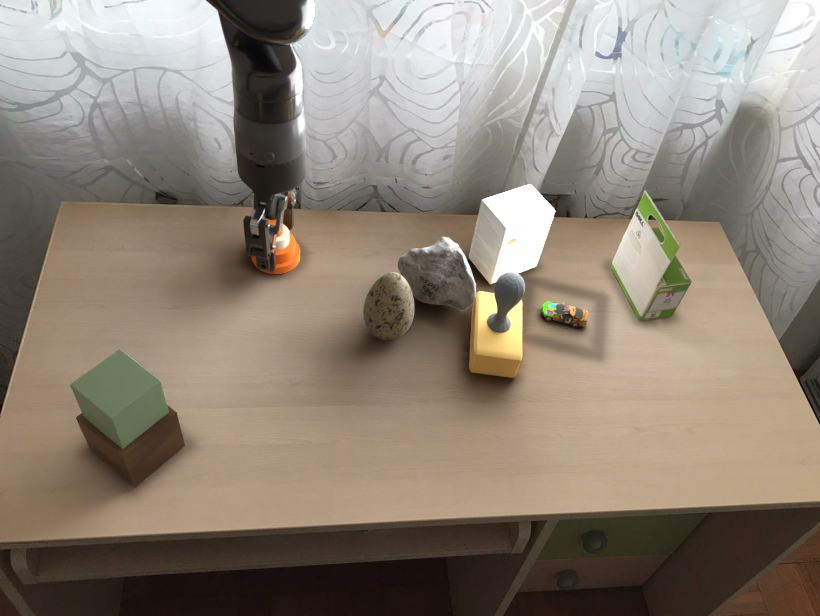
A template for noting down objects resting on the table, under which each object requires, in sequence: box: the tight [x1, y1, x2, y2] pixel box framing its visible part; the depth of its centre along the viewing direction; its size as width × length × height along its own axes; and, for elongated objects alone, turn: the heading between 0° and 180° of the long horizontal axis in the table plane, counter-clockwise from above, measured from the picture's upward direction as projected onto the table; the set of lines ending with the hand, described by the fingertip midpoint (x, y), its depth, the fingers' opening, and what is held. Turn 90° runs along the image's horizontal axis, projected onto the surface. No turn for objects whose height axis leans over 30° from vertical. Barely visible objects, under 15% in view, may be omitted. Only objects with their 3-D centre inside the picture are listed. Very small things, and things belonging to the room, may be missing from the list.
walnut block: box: [75, 404, 186, 489], centre depth 74 cm, size 6×6×6 cm
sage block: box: [69, 349, 169, 449], centre depth 69 cm, size 5×5×5 cm
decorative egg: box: [362, 271, 415, 341], centre depth 87 cm, size 6×6×10 cm
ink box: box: [609, 189, 693, 321], centre depth 96 cm, size 10×5×14 cm, turn 16°
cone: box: [251, 219, 301, 275], centre depth 93 cm, size 6×6×6 cm
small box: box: [468, 183, 556, 285], centre depth 97 cm, size 8×6×10 cm
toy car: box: [540, 301, 588, 329], centre depth 96 cm, size 3×6×2 cm, turn 80°
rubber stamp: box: [468, 272, 526, 379], centre depth 88 cm, size 10×6×12 cm, turn 177°
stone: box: [397, 236, 477, 311], centre depth 91 cm, size 9×7×10 cm
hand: (275, 247), depth 94 cm, fingers open, 7 cm apart
